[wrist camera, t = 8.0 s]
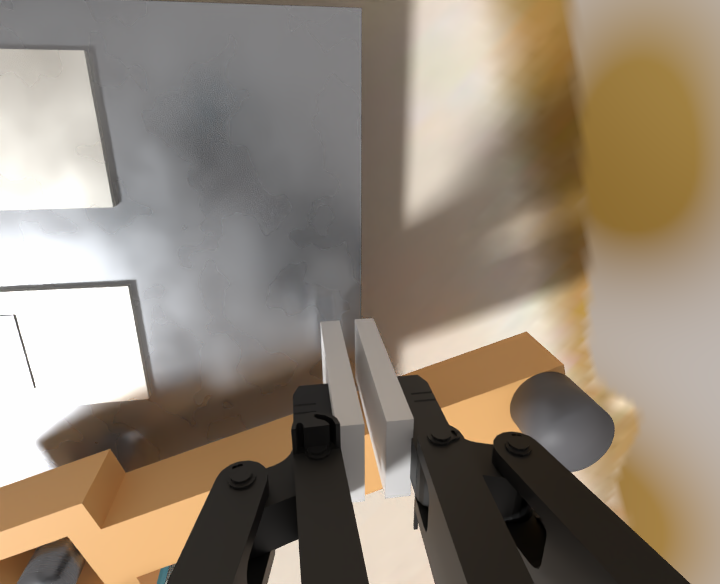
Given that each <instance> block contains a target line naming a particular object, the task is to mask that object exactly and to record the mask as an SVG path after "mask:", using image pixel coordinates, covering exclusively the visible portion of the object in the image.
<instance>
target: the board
mask: <svg viewBox="0 0 720 584" xmlns="http://www.w3.org/2000/svg"><path fill="white" fill-rule="evenodd" d="M361 48H362V8H348V7H319V6H290V5H261V4H232V3H203V2H174V1H145V0H0V487H2V486H5V485H8V484H11V483H14V482H17V481H20V480H22V479H25V478H28V477H31V476H34V475H37V474H40V473H42V472H45V471H48V470H51V469H54V468H57V467H59V466H62V465H65V464H68V463H71V462H74V461H77V460H79V459H82V458H85V457H88V456H91V455H94V454H97V453H99V452H102V451H105V450H108V449H111V451H112V452H113V454H114V455H115V457H116V458H117V460H118V461H119V463H120V464H121V466H122V467H123V469H124V471H125V472H126V473H127V472H130V471H133V470H135V469H138V468H141V467H144V466H147V465H150V464H152V463H155V462H158V461H161V460H164V459H167V458H169V457H172V456H175V455H178V454H181V453H184V452H186V451H189V450H192V449H195V448H198V447H201V446H203V445H206V444H209V443H212V442H215V441H218V440H220V439H223V438H226V437H229V436H232V435H235V434H237V433H240V432H243V431H246V430H249V429H252V428H254V427H257V426H260V425H263V424H266V423H269V422H271V421H274V420H277V419H280V418H283V417H286V416H289V415H291V414H293V394H294V392H295V391H296V389H297V388H298V386H304V385H315V384H323V371H322V348H321V325H320V322H323V321H338V320H339V321H340V325H341V329H342V333H343V337H344V341H345V346H346V350H347V354H348V358H349V362H350V366H351V370H352V374H353V378H354V383H355V387H356V391H359V390H358V386H357V382H356V378H355V319H361ZM85 562H86V559H85V558H84V557H83V555H82V554H81V553H80V552H79V550H78V549H77V548H76V546H75V545H74V544H73V543H72V541H71V540H70V539H69V538H68V536H67V537H64V538H62V539H59V540H56V541H53V542H50V543H48V544H45V545H42V546H39V547H37V549H36V550H35V552H34V554H33V556H32V557H31V559H30V561H29V563H28V564H27V566H26V568H25V570H24V571H23V573H22V575H21V577H20V578H19V580H18V582H17V584H76V583H77V580H78V578H79V576H80V574H81V571H82V569H83V567H84V565H85Z"/></svg>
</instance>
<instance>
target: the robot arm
mask: <svg viewBox="0 0 720 584" xmlns="http://www.w3.org/2000/svg"><path fill="white" fill-rule="evenodd" d="M320 325H321V348H322V371H323V384H315V385H304V386H298V388H297V389H296V391H295V392H294V394H293V423H292V428H291V435H292V448H293V449H292V451H291V453H290V455H289V456H288V457H287V458H286V459H284V460H283V461H282V462H280V463H278V464H276V465H273V466H271V467H268V468H265V467H264V466H263V465H262V464H260V463H258V462H255V461H250V460H248V461H239V462H236V463H233V464H231V465H229V466H227V467H226V468H225V469H223V470H222V471H221V472H220V473H219V475H218V476H217V478H216V480H215V482H214V484H213V486H212V488H211V490H210V492H209V495H208V497H207V499H206V501H205V503H204V505H203V507H202V509H201V512H200V514H199V516H198V518H197V520H196V522H195V524H194V527H193V529H192V531H191V533H190V535H189V537H188V539H187V541H186V544H185V546H184V548H183V550H182V552H181V554H180V556H179V558H178V561H177V563H176V565H175V567H174V569H173V571H172V573H171V576H170V578H169V580H168V582H167V584H267V583H268V579H269V575H270V571H271V567H272V563H273V560H274V556H275V549H277V548H279V547H281V546H284V545H286V544H288V543H290V542H293V541H295V540H297V539H299V554H300V569H301V584H369V582H368V577H367V572H366V567H365V563H364V558H363V553H362V548H361V543H360V538H359V534H358V529H357V524H356V519H355V514H354V509H353V504H352V502H361V501H365V424H364V420H363V416H362V411H361V407H360V403H359V399H358V395H357V391H356V387H355V383H354V378H353V374H352V370H351V366H350V362H349V358H348V354H347V350H346V346H345V341H344V337H343V333H342V329H341V325H340V321H339V320H338V321H323V322H320ZM355 378H356V382H357V386H358V390H359V394H360V398H361V402H362V406H363V411H364V415H365V419H366V423H367V427H368V431H369V435H370V439H371V443H372V447H373V451H374V455H375V459H376V463H377V467H378V471H379V475H380V479H381V483H382V487H383V491H384V495H385V498H393V497H402V496H410V495H411V483H412V486H413V489H414V492H415V504H414V529H418V523H419V527H420V531H421V534H422V538H423V542H424V545H425V549H426V553H427V556H428V560H429V564H430V567H431V571H432V575H433V578H434V582H435V584H690V583H689V582H688V581H687V580H686V579H685V578H684V577H683V576H682V575H681V574H680V573H678V572H677V571H676V570H675V569H674V568H673V567H672V566H671V565H670V564H669V563H668V562H667V561H666V560H664V559H663V558H662V557H661V556H660V555H659V554H658V553H657V552H656V551H655V550H654V549H653V548H652V547H650V546H649V545H648V544H647V543H646V542H645V541H644V540H643V539H642V538H641V537H640V536H639V535H638V534H637V533H635V532H634V531H633V530H632V529H631V528H630V527H629V526H628V525H627V524H626V523H625V522H624V521H623V520H621V519H620V518H619V517H618V516H617V515H616V514H615V513H614V512H613V511H612V510H611V509H610V508H609V507H607V506H606V505H605V504H604V503H603V502H602V501H601V500H600V499H599V498H598V497H597V496H596V495H595V494H593V493H592V492H591V491H590V490H589V489H588V488H587V487H586V486H585V485H584V484H583V483H582V482H581V481H579V480H578V479H577V478H576V477H575V476H574V475H573V474H572V473H571V472H570V471H569V470H568V469H567V468H566V467H564V466H563V465H562V464H561V463H560V462H559V461H558V460H557V459H556V458H555V457H554V456H553V455H552V454H550V453H549V452H548V451H547V450H546V449H545V448H544V447H543V446H542V445H541V444H540V443H539V442H538V441H536V440H535V439H533V438H532V437H530V436H528V435H526V434H523V433H519V432H512V431H511V432H503V433H501V434H499V435H497V436H496V437H495V439H494V440H493V444H486V443H478V442H473V441H469V440H467V439H465V438H464V436H463V435H462V434H461V432H460V431H459V430H458V429H456V428H454V427H453V426H450V425H449V424H448V422H447V420H446V418H445V416H444V414H443V412H442V410H441V408H440V406H439V404H438V402H437V401H436V398H435V396H434V394H433V393H432V390H431V388H430V386H429V384H428V382H427V381H425V380H424V379H423V378H421V377H420V376H419V375H408V376H396V373H395V371H394V368H393V366H392V363H391V361H390V358H389V356H388V353H387V351H386V348H385V346H384V343H383V341H382V338H381V336H380V333H379V331H378V328H377V326H376V324H375V321H374V319H373V318H367V319H355Z"/></svg>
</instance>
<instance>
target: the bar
mask: <svg viewBox="0 0 720 584" xmlns="http://www.w3.org/2000/svg"><path fill="white" fill-rule="evenodd" d="M408 375H419V376H420V377H421V378H423V379H424V380H425V381H427V382H428V384H429V386H430V388H431V390H432V393H433V394H434V396H435V398H436V401H437V402H438V404H439V406H440V408H441V410H442V412H443V414H444V416H445V418H446V420H447V422H448V424H449V425H450V426H453V427H454V428H456V429H458V430H459V431H460V432H461V434H462V435H463V436H464V438H465V439H467V440H469V441H473V442H478V443H486V444H493V440H494V439H495V437H496V436H497V435H499V434H501V433H503V432H511V431H512V432H519V433H523V434H526V435H528V436H530V437H532V438H533V439H535V440H536V441H538V442H539V443H540V444H541V445H542V446H543V447H544V448H545V449H546V450H547V451H548V452H549V453H550V454H552V455H553V456H554V457H555V458H556V459H557V460H558V461H559V462H560V463H561V464H562V465H563V466H564V467H566V468H567V469H568V470H569V471H570V472H574V471H579V470H582V469H584V468H587V467H589V466H590V465H592V464H594V463H595V462H596V461H598V460H599V459H600V458H601V457H602V456H603V455H604V454H605V453H606V451H607V450H608V449H609V447H610V445H611V443H612V441H613V437H614V431H615V430H614V423H613V420H612V418H611V417H610V415H609V414H608V413H607V412H606V411H605V410H603V409H602V408H601V407H600V406H599V405H598V404H597V403H596V402H595V401H594V400H593V399H591V398H590V397H589V396H588V395H587V394H586V393H585V392H584V391H583V390H582V389H581V388H579V387H578V386H577V385H576V384H575V383H574V382H573V381H572V380H571V379H570V378H568V377H567V376H566V375H565V370H564V364H562V363H561V362H560V361H559V360H558V359H557V358H556V357H555V356H553V355H552V354H551V353H550V352H549V351H548V350H547V349H545V348H544V347H543V346H542V345H541V344H540V343H539V342H538V341H536V340H535V339H534V338H533V337H532V336H531V335H530V334H529V333H527V332H524V333H521V334H518V335H515V336H513V337H510V338H507V339H504V340H501V341H498V342H496V343H493V344H490V345H487V346H484V347H481V348H479V349H476V350H473V351H470V352H467V353H464V354H462V355H459V356H456V357H453V358H450V359H447V360H445V361H442V362H439V363H436V364H433V365H430V366H427V367H425V368H422V369H419V370H416V371H413V372H410V373H408V374H405V375H402V376H408ZM357 395H358V399H359V403H360V407H361V411H362V416H363V420H364V424H365V495H366V494H369V493H372V492H375V491H377V490H380V489H383V487H382V483H381V479H380V475H379V471H378V467H377V463H376V459H375V455H374V451H373V447H372V443H371V439H370V435H369V431H368V427H367V423H366V419H365V415H364V411H363V406H362V402H361V398H360V394H359V391H357ZM292 423H293V414H291V415H289V416H286V417H283V418H280V419H277V420H274V421H271V422H269V423H266V424H263V425H260V426H257V427H254V428H252V429H249V430H246V431H243V432H240V433H237V434H235V435H232V436H229V437H226V438H223V439H220V440H218V441H215V442H212V443H209V444H206V445H203V446H201V447H198V448H195V449H192V450H189V451H186V452H184V453H181V454H178V455H175V456H172V457H169V458H167V459H164V460H161V461H158V462H155V463H152V464H150V465H147V466H144V467H141V468H138V469H135V470H133V471H130V472H127V473H126V472H125V471H124V469H123V467H122V466H121V464H120V463H119V461H118V460H117V458H116V457H115V455H114V454H113V452H112V451H111V449H108V450H105V451H102V452H99V453H97V454H94V455H91V456H88V457H85V458H82V459H79V460H77V461H74V462H71V463H68V464H65V465H62V466H59V467H57V468H54V469H51V470H48V471H45V472H42V473H40V474H37V475H34V476H31V477H28V478H25V479H22V480H20V481H17V482H14V483H11V484H8V485H5V486H2V487H0V584H17V582H18V580H19V578H20V577H21V575H22V573H23V571H24V570H25V568H26V566H27V564H28V563H29V561H30V559H31V557H32V556H33V554H34V552H35V550H36V549H37V547H39V546H42V545H45V544H48V543H50V542H53V541H56V540H59V539H62V538H64V537H67V536H68V538H69V539H70V540H71V541H72V543H73V544H74V545H75V546H76V548H77V549H78V550H79V552H80V553H81V554H82V555H83V557H84V558H85V559H86V562H85V565H84V567H83V569H82V571H81V574H80V576H79V578H78V580H77V583H76V584H157V580H158V576H159V573H160V569H161V568H164V567H166V566H169V565H172V564H175V563H177V561H178V558H179V556H180V554H181V552H182V550H183V548H184V546H185V544H186V541H187V539H188V537H189V535H190V533H191V531H192V529H193V527H194V524H195V522H196V520H197V518H198V516H199V514H200V512H201V509H202V507H203V505H204V503H205V501H206V499H207V497H208V495H209V492H210V490H211V488H212V486H213V484H214V482H215V480H216V478H217V476H218V475H219V473H220V472H221V471H222V470H223V469H225V468H226V467H227V466H229V465H231V464H233V463H236V462H239V461H248V460H250V461H255V462H258V463H260V464H262V465H263V466H264V467H265V468H268V467H271V466H273V465H276V464H278V463H280V462H282V461H283V460H284V459H286V458H287V457H288V456H289V455H290V453H291V451H292V449H293V448H292V435H291V428H292Z"/></svg>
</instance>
